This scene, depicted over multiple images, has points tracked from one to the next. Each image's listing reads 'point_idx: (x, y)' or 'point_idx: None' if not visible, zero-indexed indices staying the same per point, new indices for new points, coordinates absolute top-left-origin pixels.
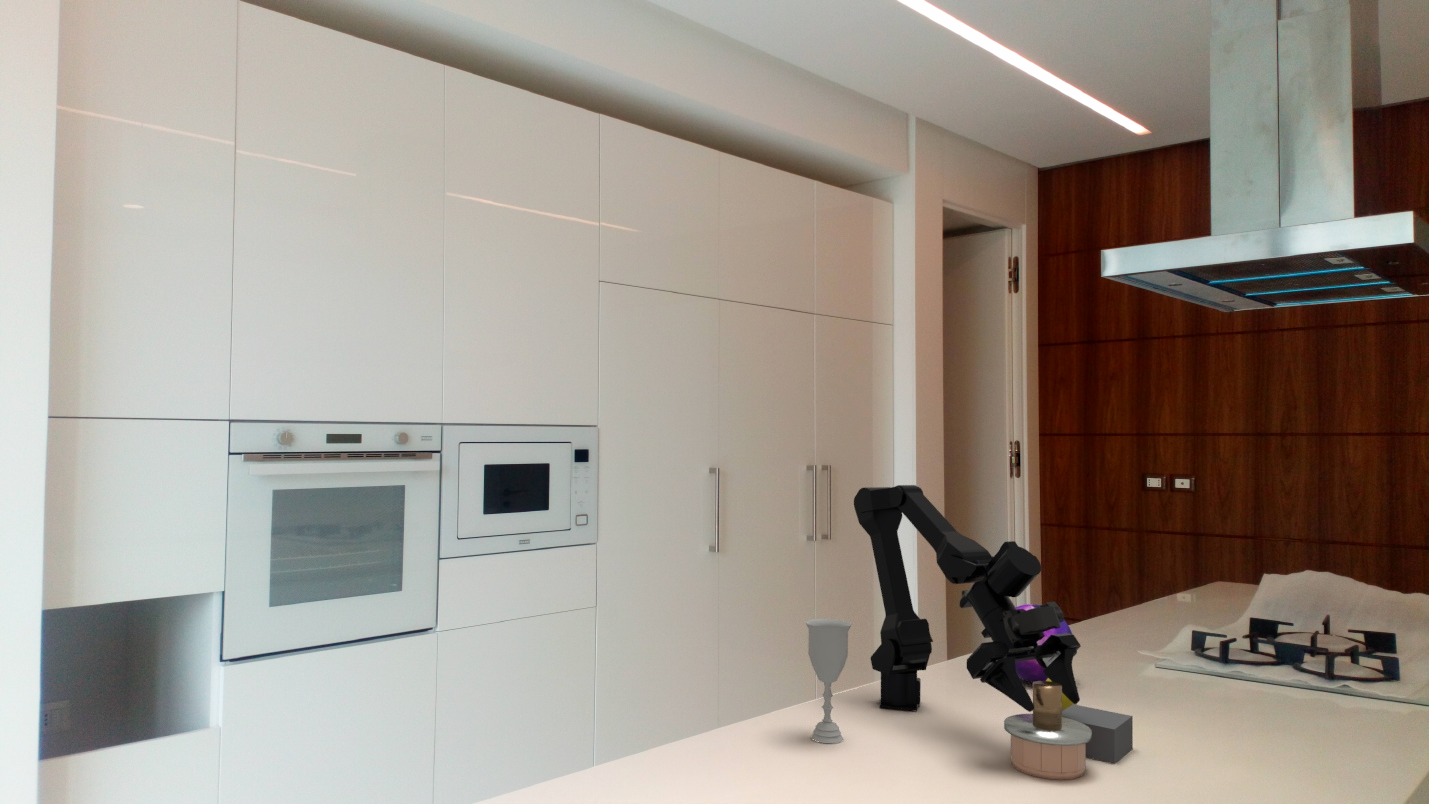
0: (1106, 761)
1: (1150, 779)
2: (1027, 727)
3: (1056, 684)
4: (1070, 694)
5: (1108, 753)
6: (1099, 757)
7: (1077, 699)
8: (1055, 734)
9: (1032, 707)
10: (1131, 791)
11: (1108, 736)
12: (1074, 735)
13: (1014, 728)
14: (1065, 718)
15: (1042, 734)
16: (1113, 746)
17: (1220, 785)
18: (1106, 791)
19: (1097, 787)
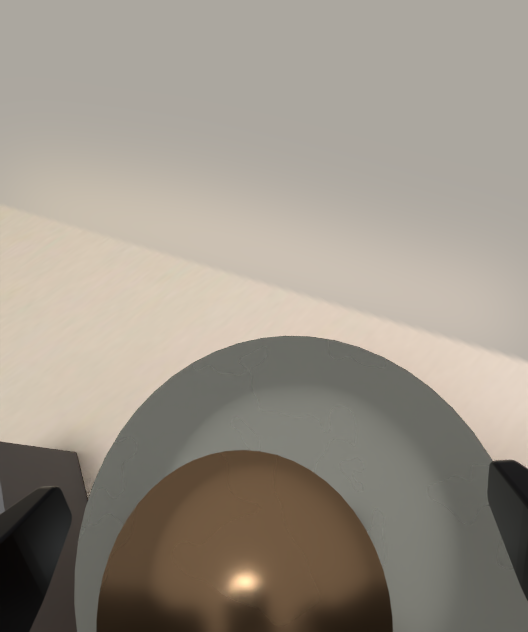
0: (81, 475)
1: (103, 322)
2: (411, 579)
3: (150, 561)
4: (31, 564)
5: (63, 468)
6: (82, 498)
7: (56, 490)
8: (343, 419)
9: (513, 462)
10: (222, 277)
11: (23, 465)
12: (268, 376)
13: (506, 598)
14: (87, 617)
15: (408, 443)
16: (42, 450)
17: (3, 246)
18: (284, 296)
19: (285, 325)
